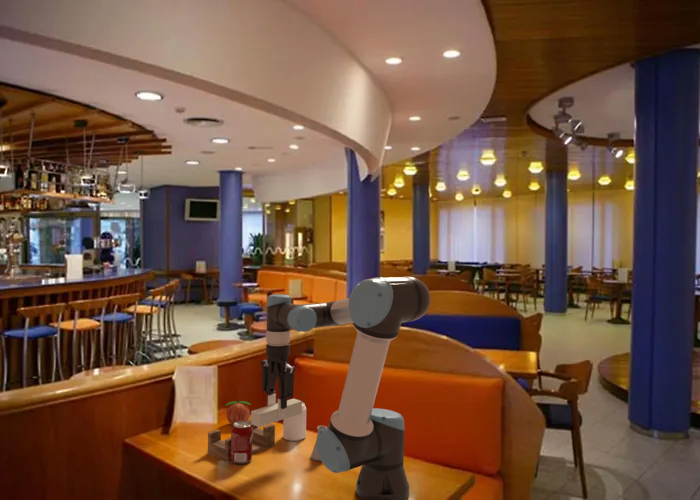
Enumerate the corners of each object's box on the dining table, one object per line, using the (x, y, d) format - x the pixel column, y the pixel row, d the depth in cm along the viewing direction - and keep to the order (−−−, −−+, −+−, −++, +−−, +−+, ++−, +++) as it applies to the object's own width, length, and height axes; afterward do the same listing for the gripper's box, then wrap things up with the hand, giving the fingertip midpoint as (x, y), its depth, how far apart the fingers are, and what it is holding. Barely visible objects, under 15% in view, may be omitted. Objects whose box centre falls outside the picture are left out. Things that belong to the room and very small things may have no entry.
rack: (254, 437, 198) (254, 418, 198) (275, 445, 191) (275, 425, 191) (207, 453, 183) (207, 432, 183) (228, 462, 176) (228, 441, 176)
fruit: (248, 428, 207) (248, 402, 207) (222, 428, 206) (223, 402, 206) (251, 421, 215) (252, 395, 215) (226, 421, 215) (227, 395, 215)
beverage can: (280, 435, 201) (280, 402, 200) (301, 432, 204) (301, 400, 204) (287, 443, 193) (287, 409, 193) (309, 439, 197) (309, 406, 197)
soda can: (247, 466, 174) (249, 429, 173) (226, 463, 175) (228, 426, 174) (254, 457, 180) (256, 421, 180) (234, 455, 181) (236, 419, 181)
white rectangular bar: (293, 410, 184) (293, 398, 184) (301, 413, 182) (301, 401, 182) (250, 423, 171) (251, 411, 170) (259, 427, 168) (259, 414, 168)
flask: (306, 459, 180) (306, 428, 180) (317, 451, 187) (318, 422, 186) (325, 463, 177) (326, 432, 177) (336, 455, 183) (337, 425, 183)
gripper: (305, 346, 172) (303, 420, 173) (269, 337, 184) (267, 407, 184) (287, 349, 167) (286, 426, 168) (251, 341, 178) (249, 412, 179)
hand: (276, 416), depth 176 cm, fingers closed on white rectangular bar, 4 cm apart
